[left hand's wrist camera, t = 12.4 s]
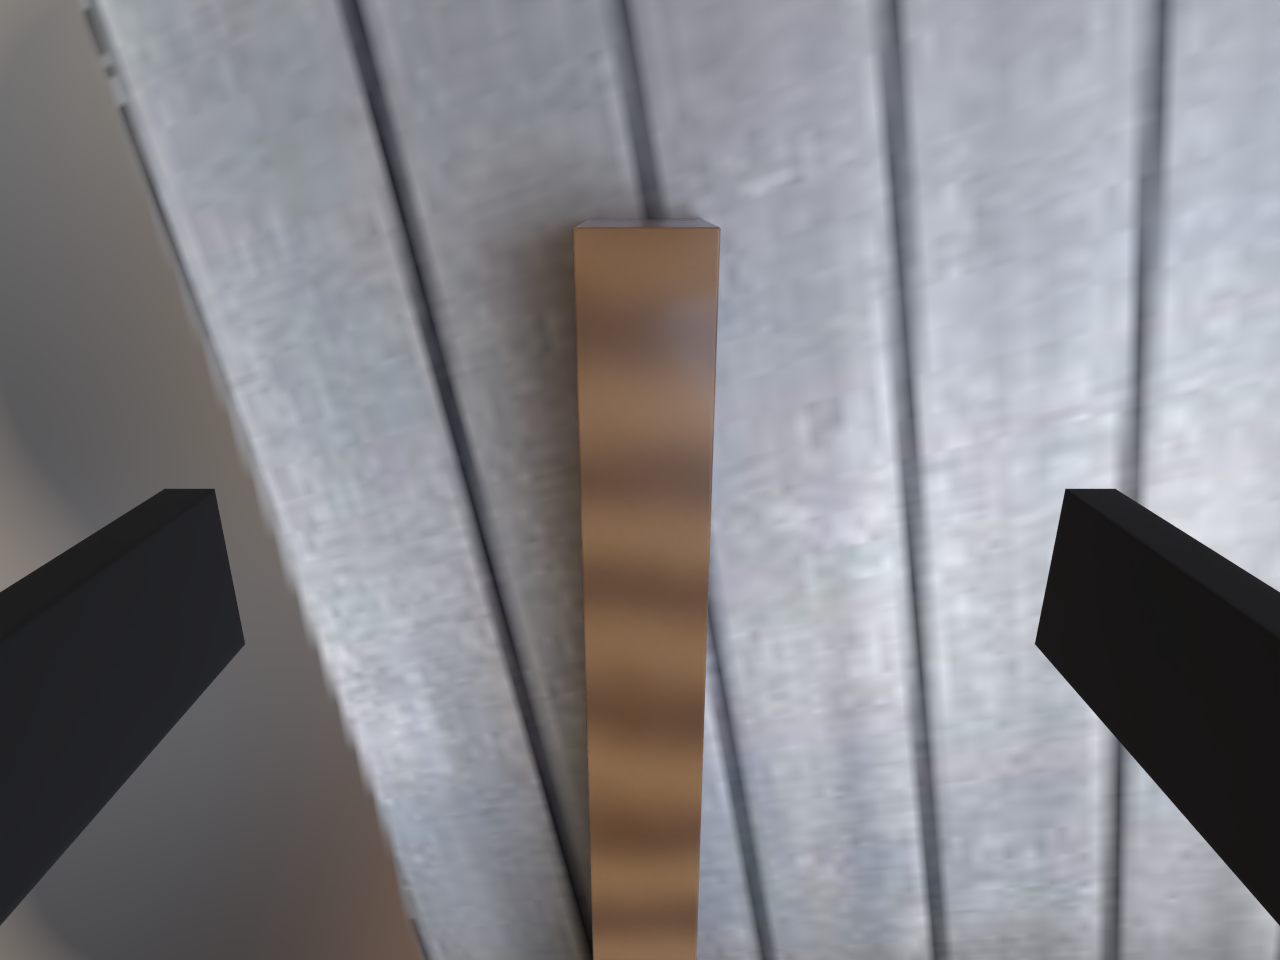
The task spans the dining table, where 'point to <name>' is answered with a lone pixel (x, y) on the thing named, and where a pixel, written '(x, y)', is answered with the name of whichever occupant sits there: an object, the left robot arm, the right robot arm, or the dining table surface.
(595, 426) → the beam
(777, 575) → the dining table surface
